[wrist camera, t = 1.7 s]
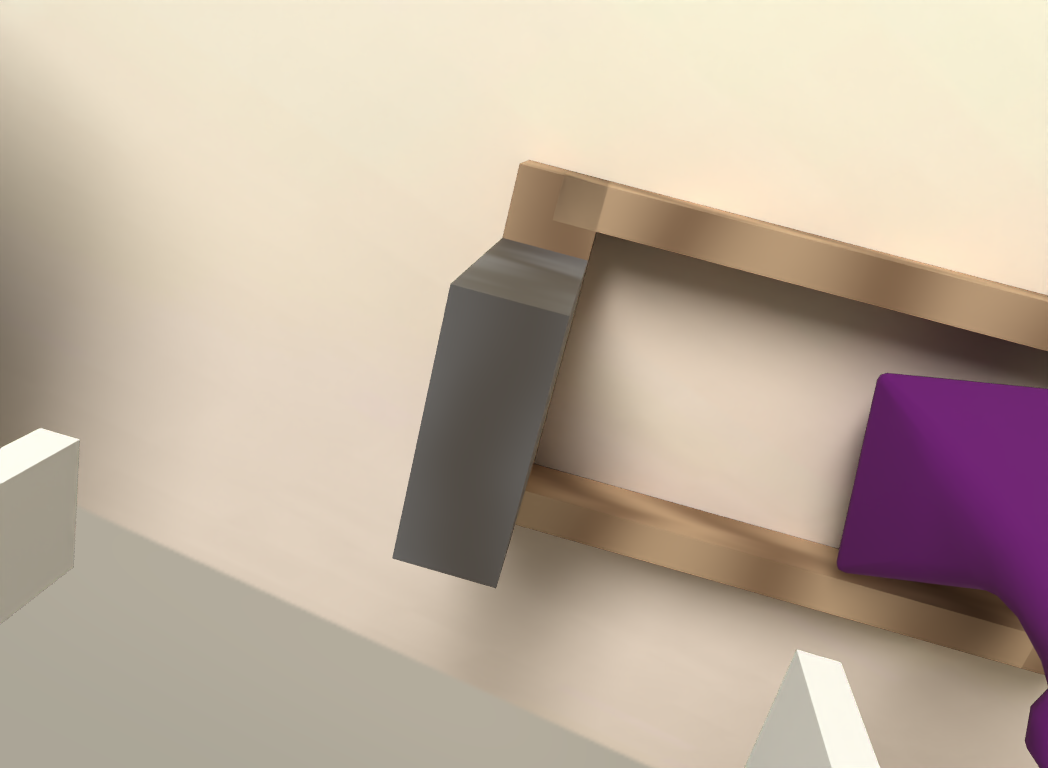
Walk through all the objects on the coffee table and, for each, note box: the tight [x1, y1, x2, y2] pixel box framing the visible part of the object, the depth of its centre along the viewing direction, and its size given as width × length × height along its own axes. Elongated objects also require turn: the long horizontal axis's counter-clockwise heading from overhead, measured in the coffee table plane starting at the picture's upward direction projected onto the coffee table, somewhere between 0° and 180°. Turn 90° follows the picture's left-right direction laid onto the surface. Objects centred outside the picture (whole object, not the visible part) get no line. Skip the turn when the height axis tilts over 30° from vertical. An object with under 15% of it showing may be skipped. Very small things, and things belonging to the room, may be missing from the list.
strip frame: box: [393, 160, 1048, 675], centre depth 25 cm, size 24×13×10 cm, turn 76°
